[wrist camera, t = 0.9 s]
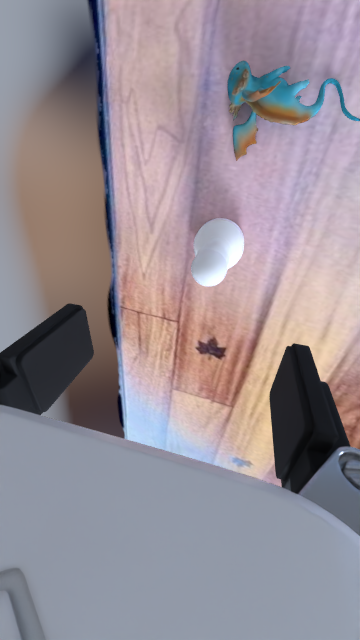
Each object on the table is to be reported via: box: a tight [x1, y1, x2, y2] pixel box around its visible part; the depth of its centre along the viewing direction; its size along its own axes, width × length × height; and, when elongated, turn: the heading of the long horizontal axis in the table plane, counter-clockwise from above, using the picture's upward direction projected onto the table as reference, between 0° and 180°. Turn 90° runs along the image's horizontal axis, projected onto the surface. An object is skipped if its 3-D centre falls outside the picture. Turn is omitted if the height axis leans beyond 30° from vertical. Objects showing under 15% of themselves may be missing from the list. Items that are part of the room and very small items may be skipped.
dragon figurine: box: [228, 61, 360, 161], centre depth 17 cm, size 6×7×8 cm
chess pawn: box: [191, 218, 244, 286], centre depth 21 cm, size 5×5×9 cm
